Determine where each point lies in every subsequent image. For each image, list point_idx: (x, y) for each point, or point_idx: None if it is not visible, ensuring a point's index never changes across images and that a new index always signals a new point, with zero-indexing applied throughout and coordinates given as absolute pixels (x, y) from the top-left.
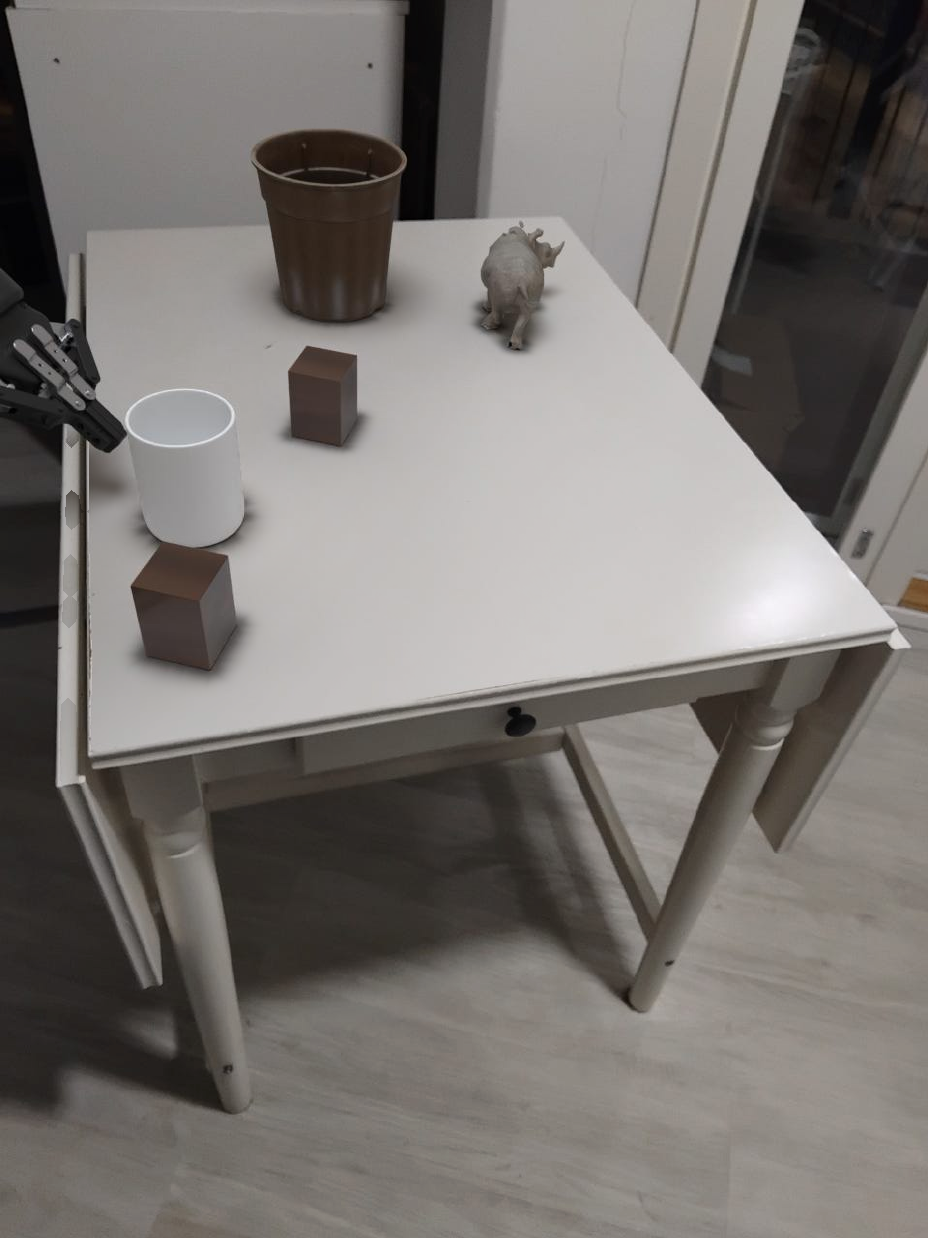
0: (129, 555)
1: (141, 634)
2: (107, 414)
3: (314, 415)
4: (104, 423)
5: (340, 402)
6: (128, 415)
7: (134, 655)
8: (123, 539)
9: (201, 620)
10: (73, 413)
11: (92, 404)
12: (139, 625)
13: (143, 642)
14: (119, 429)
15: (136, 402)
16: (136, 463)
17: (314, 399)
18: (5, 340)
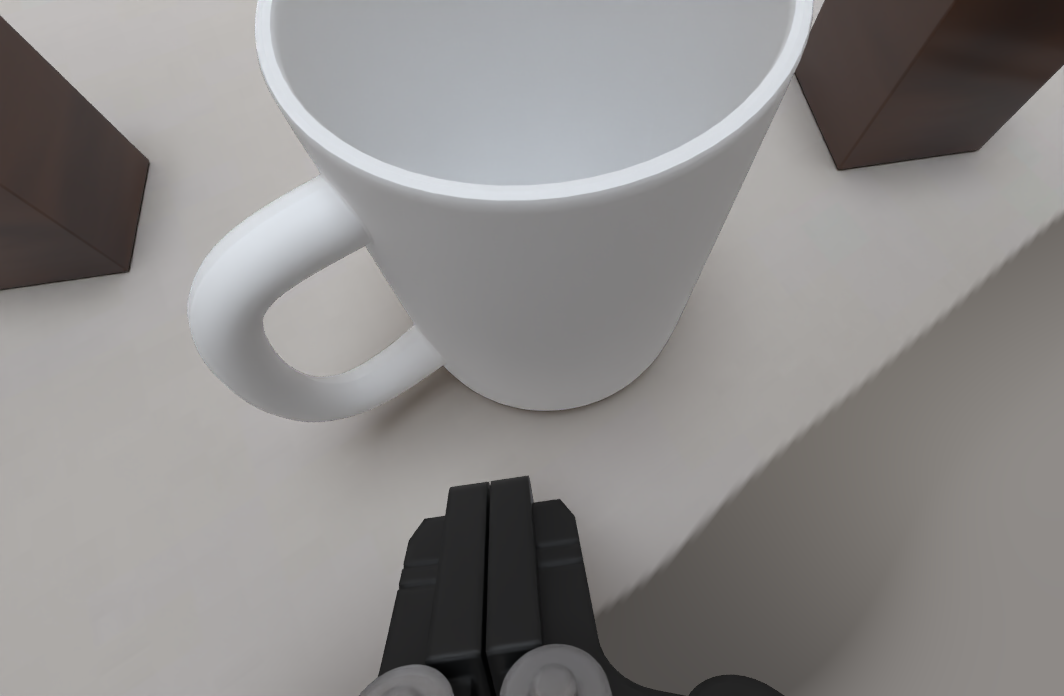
0: (754, 354)
1: (1030, 97)
2: (447, 566)
3: (73, 160)
4: (511, 544)
5: (34, 50)
6: (663, 155)
7: (993, 168)
8: (712, 405)
9: None
10: (619, 692)
11: (465, 646)
12: (1054, 73)
13: (1009, 118)
14: (473, 498)
15: (512, 199)
16: (734, 199)
17: (22, 117)
18: None
